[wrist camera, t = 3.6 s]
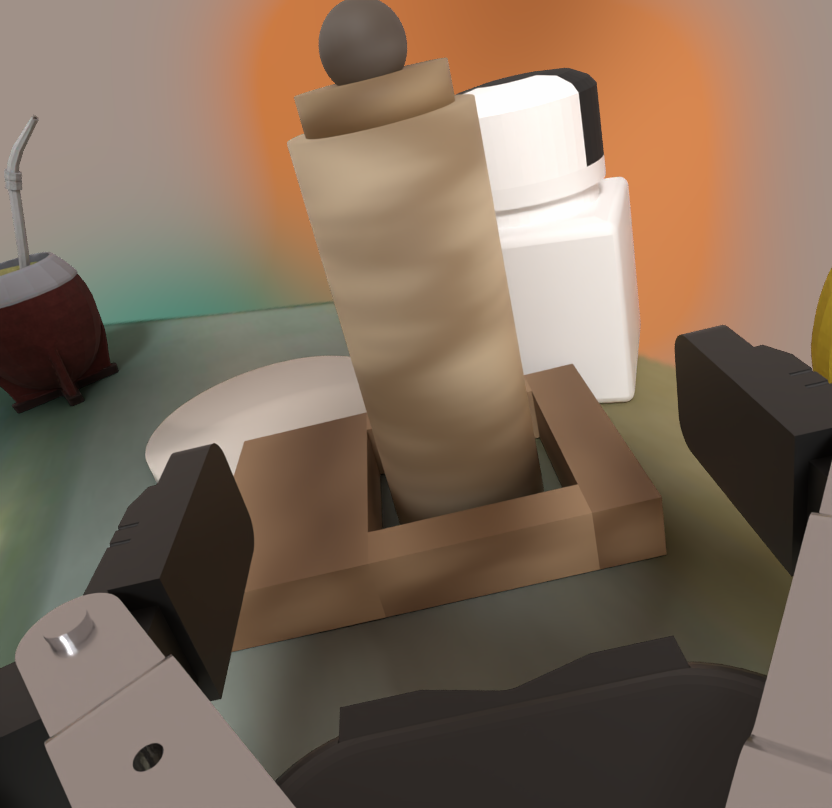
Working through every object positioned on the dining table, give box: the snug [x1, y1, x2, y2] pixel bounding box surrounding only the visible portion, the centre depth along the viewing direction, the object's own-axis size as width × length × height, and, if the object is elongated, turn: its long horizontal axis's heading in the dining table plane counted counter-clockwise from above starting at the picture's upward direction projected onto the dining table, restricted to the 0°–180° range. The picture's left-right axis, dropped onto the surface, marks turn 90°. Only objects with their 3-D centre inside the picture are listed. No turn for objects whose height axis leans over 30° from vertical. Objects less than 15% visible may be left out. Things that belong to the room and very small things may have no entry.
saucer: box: [145, 356, 367, 483], centre depth 32 cm, size 11×11×1 cm
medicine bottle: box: [456, 68, 640, 403], centre depth 29 cm, size 7×7×12 cm
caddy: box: [232, 364, 667, 652], centre depth 24 cm, size 13×9×2 cm
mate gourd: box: [0, 115, 118, 413], centre depth 40 cm, size 8×8×15 cm
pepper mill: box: [287, 0, 544, 525], centre depth 21 cm, size 5×5×15 cm
